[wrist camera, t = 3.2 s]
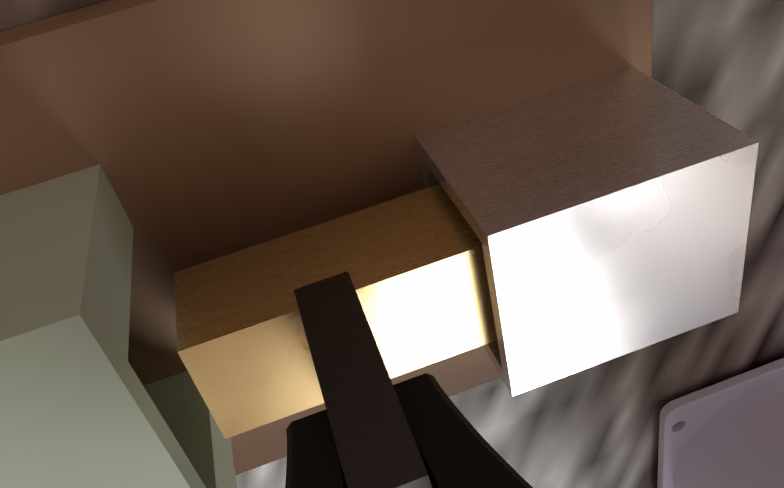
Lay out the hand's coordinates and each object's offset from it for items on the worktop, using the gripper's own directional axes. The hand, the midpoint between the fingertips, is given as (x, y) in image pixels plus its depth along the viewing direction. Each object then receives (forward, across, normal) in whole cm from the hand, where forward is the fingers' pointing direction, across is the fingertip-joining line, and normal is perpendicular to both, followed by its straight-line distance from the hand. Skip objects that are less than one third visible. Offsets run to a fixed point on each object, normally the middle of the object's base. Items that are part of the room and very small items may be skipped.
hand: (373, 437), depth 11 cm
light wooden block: (+5, -1, 0) cm, 5 cm away
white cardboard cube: (+5, -5, 0) cm, 8 cm away
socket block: (+5, +5, 0) cm, 7 cm away
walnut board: (+6, -1, 0) cm, 6 cm away
